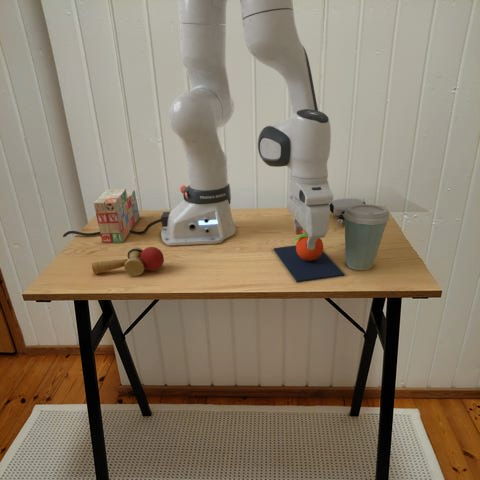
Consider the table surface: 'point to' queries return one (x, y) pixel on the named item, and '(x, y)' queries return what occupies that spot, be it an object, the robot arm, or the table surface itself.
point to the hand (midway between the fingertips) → (304, 240)
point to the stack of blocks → (116, 214)
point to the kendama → (133, 261)
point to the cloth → (307, 265)
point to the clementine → (304, 252)
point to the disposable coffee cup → (363, 234)
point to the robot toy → (343, 207)
